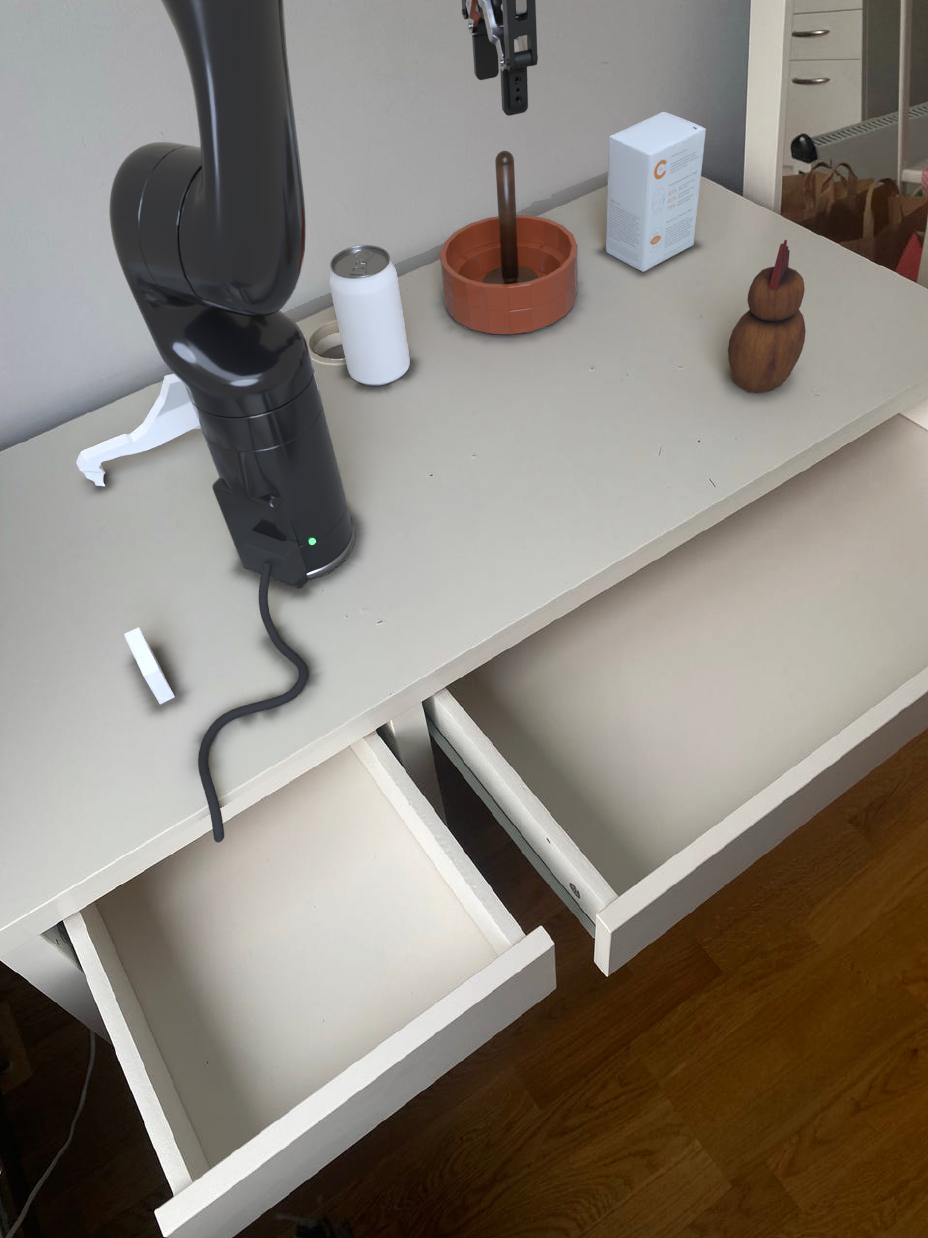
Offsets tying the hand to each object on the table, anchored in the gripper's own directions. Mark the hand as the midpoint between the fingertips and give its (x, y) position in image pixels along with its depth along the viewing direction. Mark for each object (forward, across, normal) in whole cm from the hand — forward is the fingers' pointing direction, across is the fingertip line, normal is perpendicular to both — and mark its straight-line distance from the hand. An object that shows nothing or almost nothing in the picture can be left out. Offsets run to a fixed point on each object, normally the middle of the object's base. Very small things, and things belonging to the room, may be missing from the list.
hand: (500, 94), depth 86 cm
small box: (+21, -4, +18) cm, 28 cm away
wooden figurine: (+21, +23, +18) cm, 36 cm away
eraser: (+22, +39, -42) cm, 61 cm away
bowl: (+21, 0, 0) cm, 21 cm away
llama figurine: (+22, +11, -37) cm, 44 cm away
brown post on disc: (+21, 0, 0) cm, 21 cm away
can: (+22, +6, -16) cm, 28 cm away
